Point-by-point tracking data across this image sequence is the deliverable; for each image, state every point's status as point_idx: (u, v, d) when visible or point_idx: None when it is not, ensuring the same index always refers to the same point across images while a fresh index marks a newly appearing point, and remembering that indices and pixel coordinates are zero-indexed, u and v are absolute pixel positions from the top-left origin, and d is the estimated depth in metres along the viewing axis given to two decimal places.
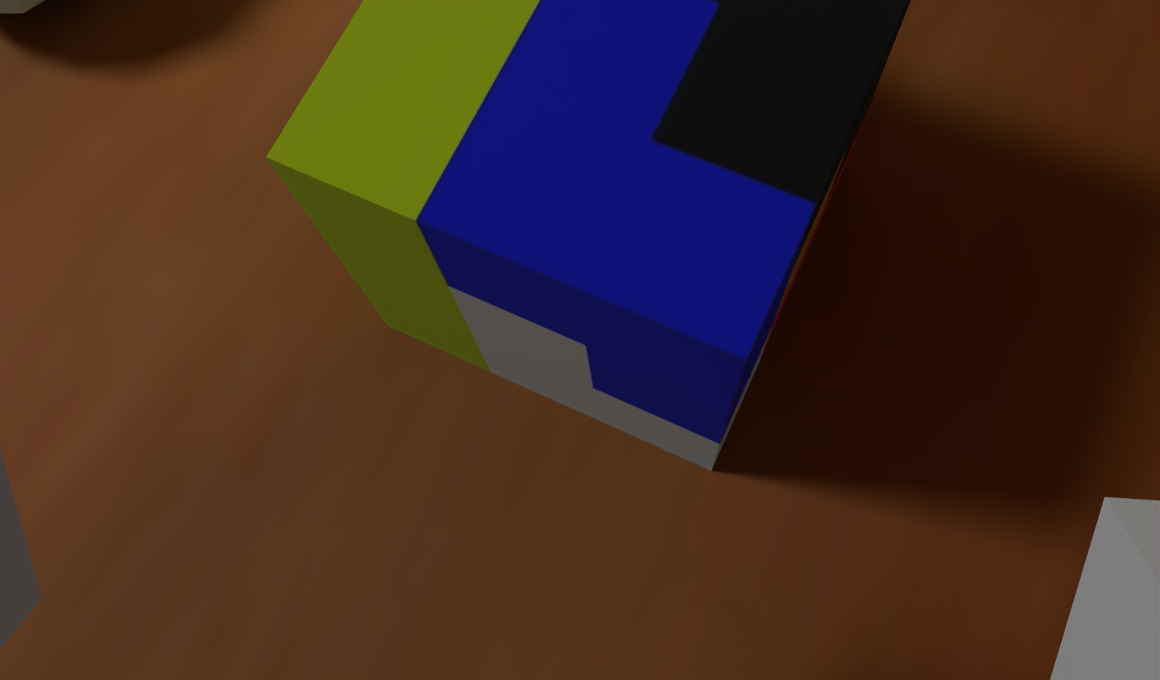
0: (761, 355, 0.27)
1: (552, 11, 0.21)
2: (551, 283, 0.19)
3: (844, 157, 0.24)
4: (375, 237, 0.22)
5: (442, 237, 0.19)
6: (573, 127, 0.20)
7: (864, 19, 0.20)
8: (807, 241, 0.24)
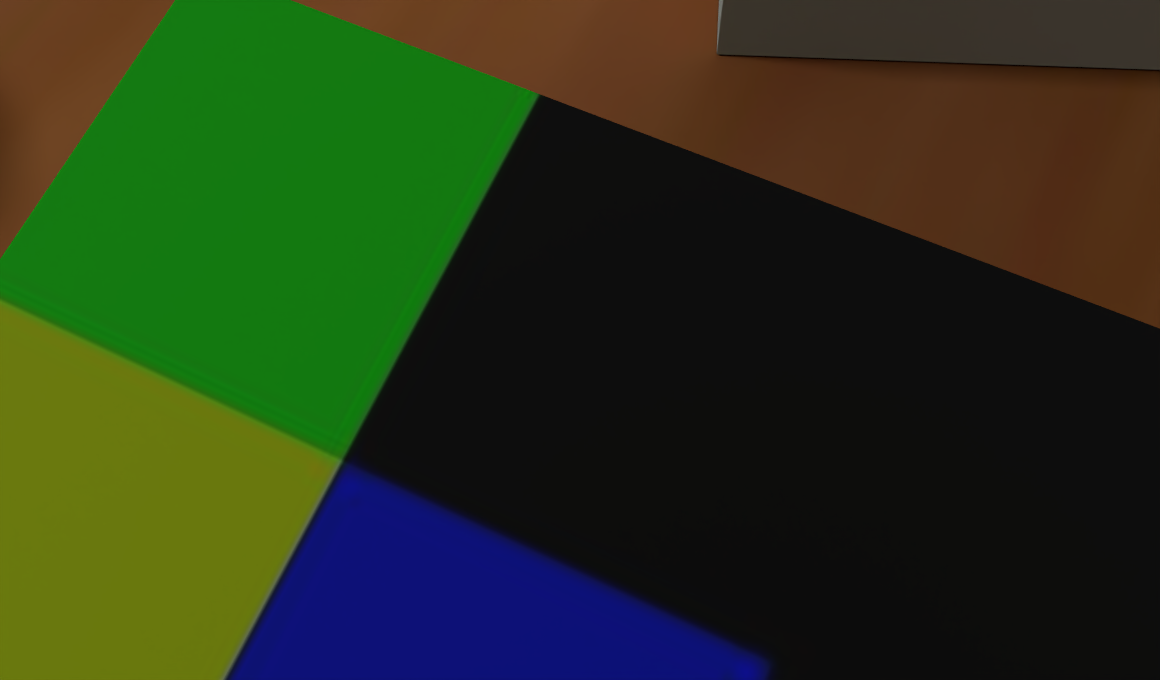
0: None
1: (280, 675, 0.07)
2: None
3: None
4: None
5: None
6: None
7: None
8: None
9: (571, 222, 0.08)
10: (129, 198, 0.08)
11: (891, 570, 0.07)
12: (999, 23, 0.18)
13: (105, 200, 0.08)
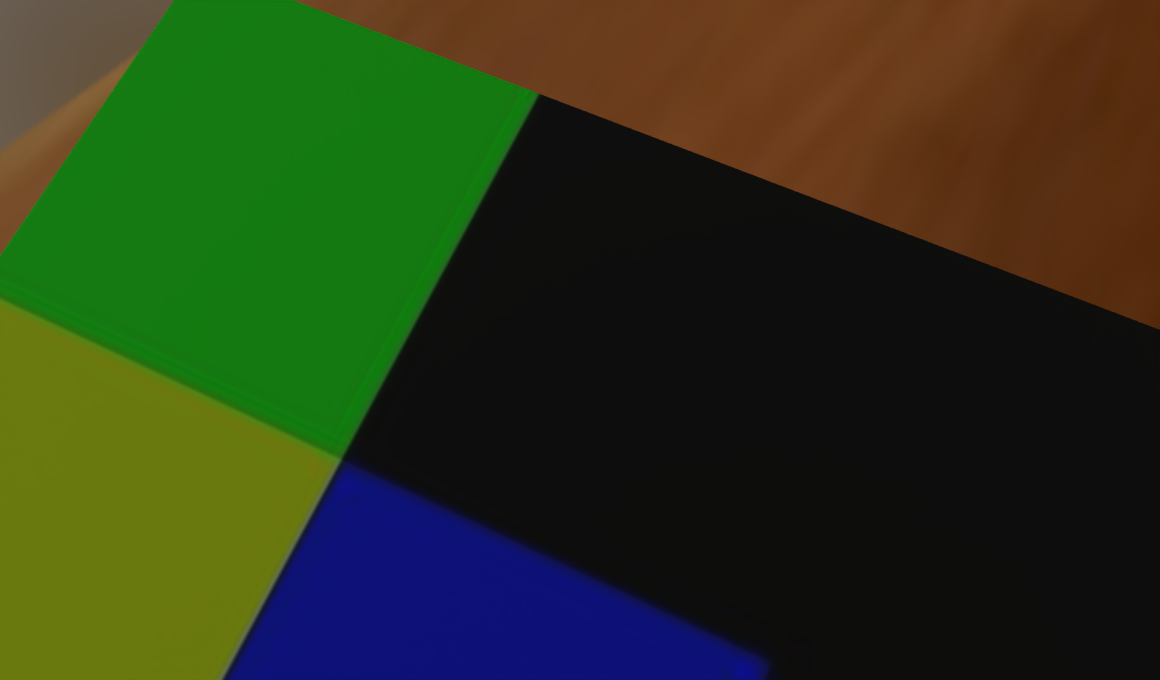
0: None
1: (279, 675, 0.07)
2: None
3: None
4: None
5: None
6: None
7: None
8: None
9: (569, 221, 0.08)
10: (128, 197, 0.08)
11: (889, 572, 0.07)
12: None
13: (105, 197, 0.08)
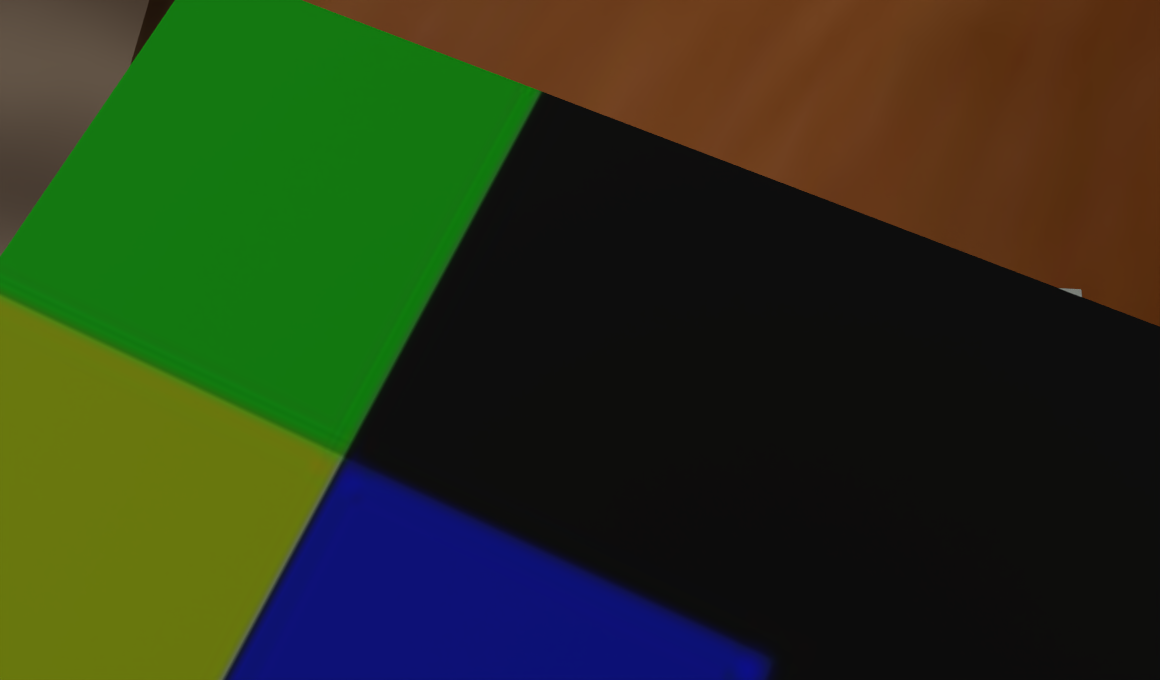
0: None
1: (280, 673, 0.07)
2: None
3: None
4: None
5: None
6: None
7: None
8: None
9: (572, 220, 0.08)
10: (131, 194, 0.08)
11: (890, 567, 0.07)
12: None
13: (107, 195, 0.08)
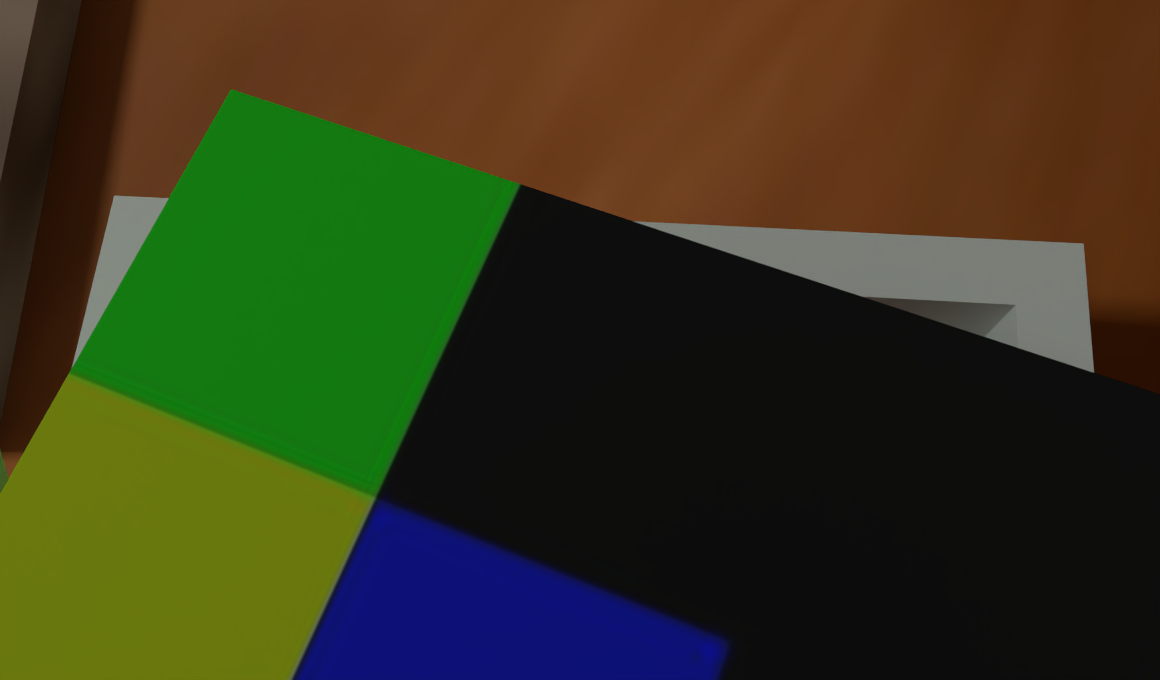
0: None
1: (336, 674, 0.09)
2: None
3: None
4: None
5: None
6: None
7: None
8: None
9: (551, 290, 0.10)
10: (187, 290, 0.10)
11: (823, 564, 0.09)
12: None
13: (167, 291, 0.10)
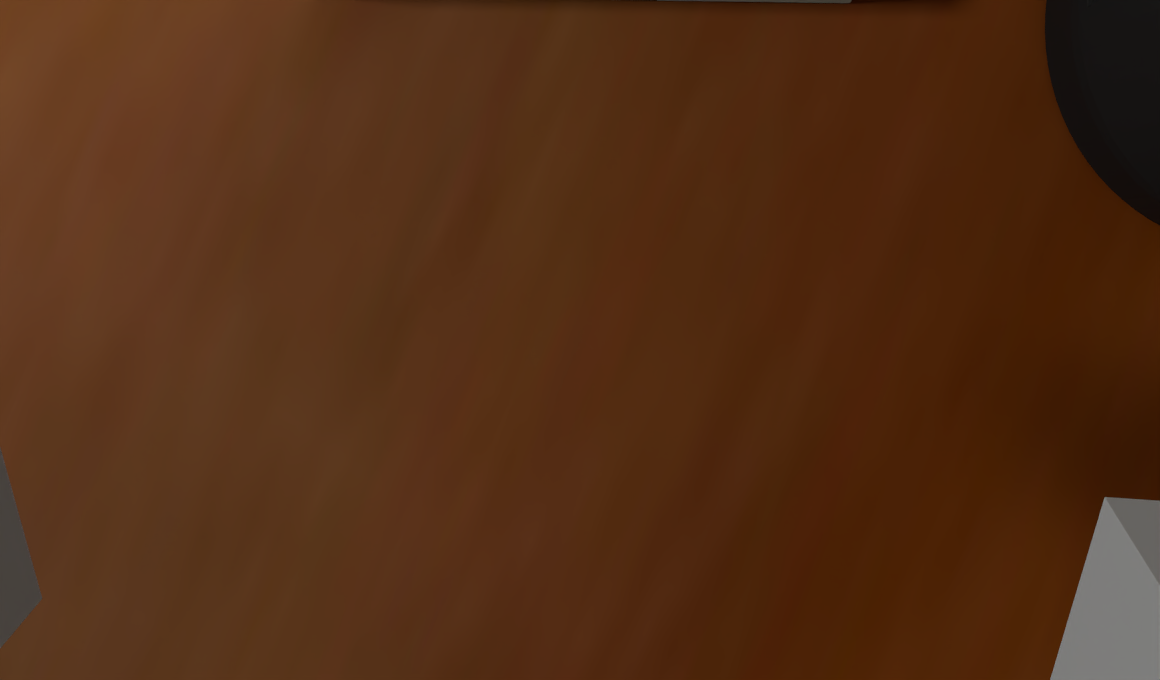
0: None
1: None
2: None
3: None
4: None
5: None
6: None
7: None
8: None
9: None
10: None
11: None
12: None
13: None
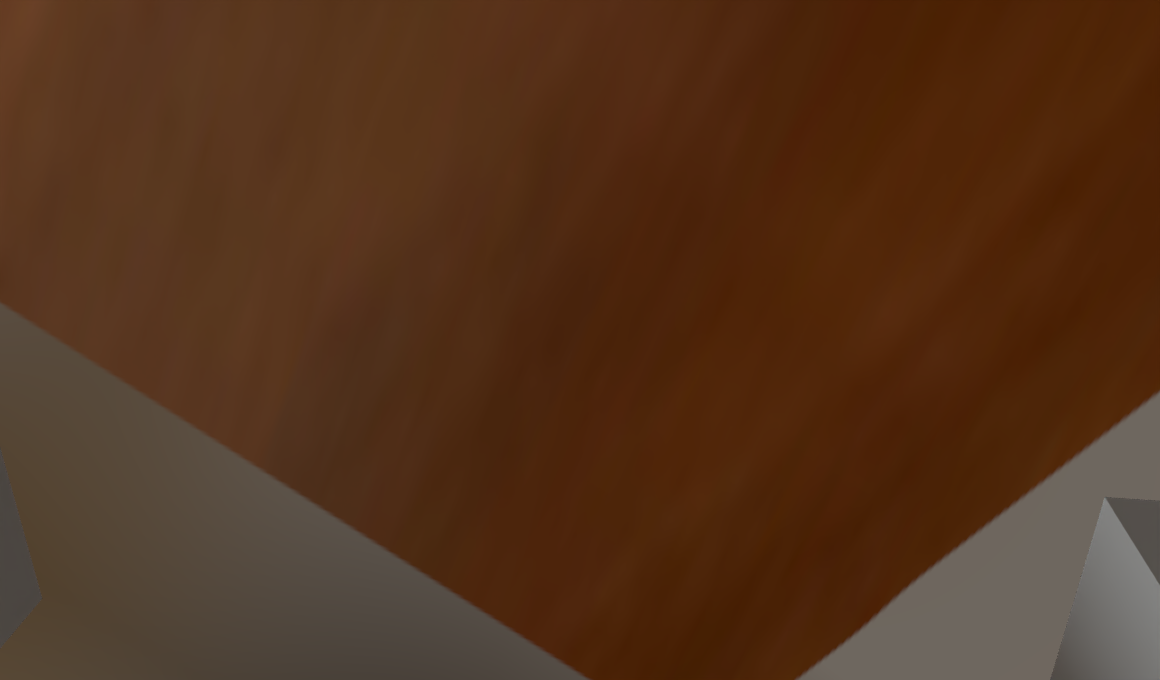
0: None
1: None
2: None
3: None
4: None
5: None
6: None
7: None
8: None
9: None
10: None
11: None
12: None
13: None
